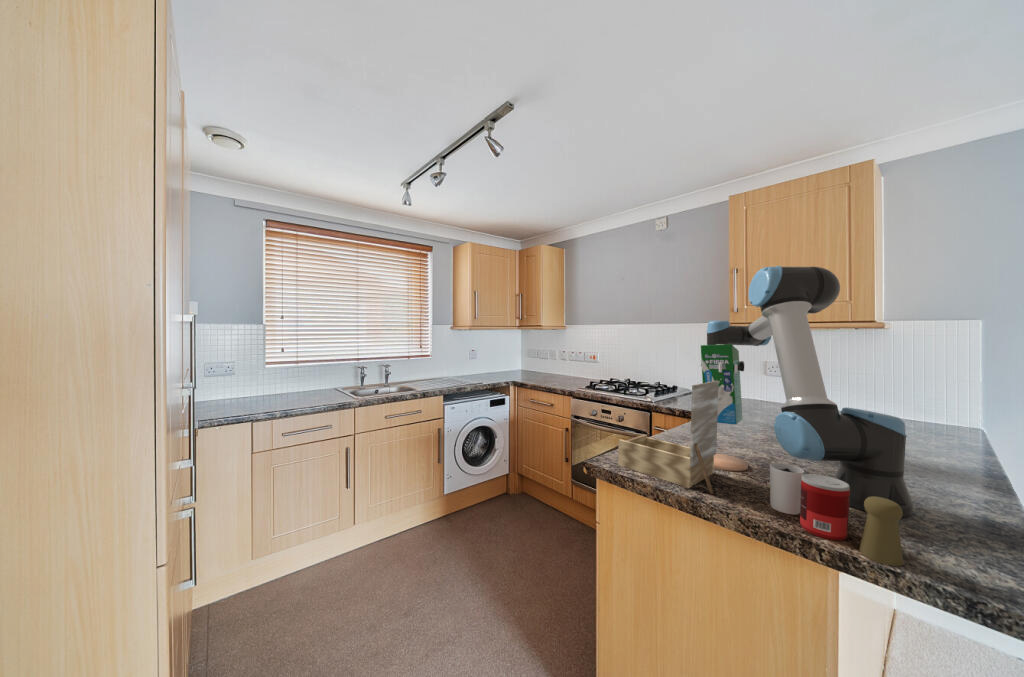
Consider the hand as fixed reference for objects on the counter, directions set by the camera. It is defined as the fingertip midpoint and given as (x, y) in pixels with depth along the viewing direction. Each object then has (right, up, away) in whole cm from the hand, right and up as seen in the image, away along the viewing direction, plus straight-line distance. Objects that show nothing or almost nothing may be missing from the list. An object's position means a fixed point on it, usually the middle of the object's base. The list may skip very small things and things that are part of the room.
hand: (728, 368), depth 114 cm
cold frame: (-18, -31, -3) cm, 36 cm away
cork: (+3, -33, -44) cm, 55 cm away
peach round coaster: (+2, -31, +5) cm, 32 cm away
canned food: (0, -32, -35) cm, 48 cm away
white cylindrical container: (-1, -32, -25) cm, 41 cm away
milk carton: (+2, -18, +6) cm, 19 cm away
